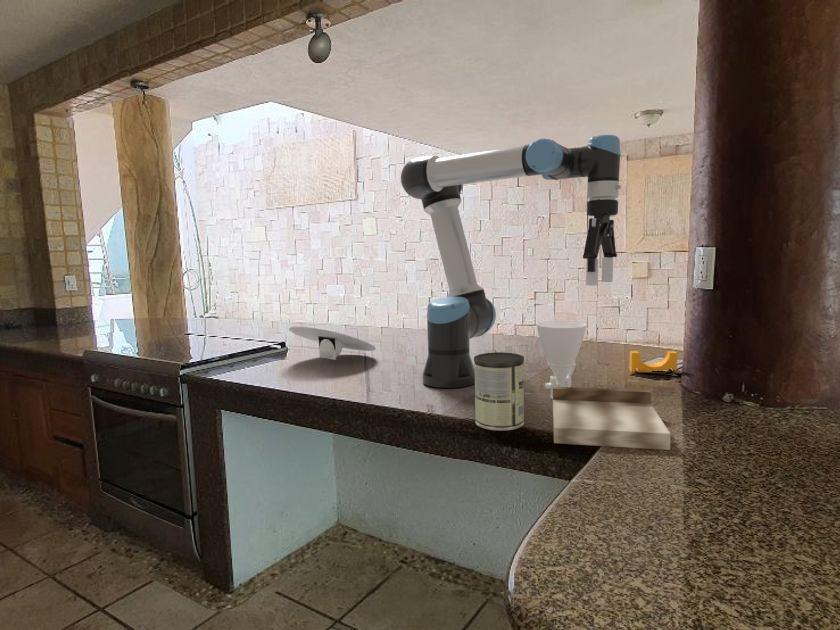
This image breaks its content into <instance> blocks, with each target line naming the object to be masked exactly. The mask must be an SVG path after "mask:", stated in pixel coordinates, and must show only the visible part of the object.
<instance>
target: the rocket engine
mask: <svg viewBox="0 0 840 630" xmlns="http://www.w3.org/2000/svg"><path fill="white" fill-rule="evenodd" d="M536 328H537V332H538V337H539V340H540V344H541V347H542V350H543V353H544V356H545V358H546V361H547V364H548V366H549V368H550V370H551V372H552V373H553V375H550V377H549V378H550V380H549V382H546V383H544V388H545V389H550V390H549V393H550V395H549V396H550V399H552V400H553V387H572V378H571V377H572V375H573V374H574V372H575V368H576V365H577V363H576V359H577V357H578V354H579V352H580V349H581V346H582V344H583V340H584V337H585V334H586V329H587V324H586V323H585V322H581V321H580V322H579V321H572V320H571V321H569V320H550V321H548V320H547V321H540V322H537V323H536Z"/></svg>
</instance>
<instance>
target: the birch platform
mask: <svg viewBox="0 0 840 630" xmlns="http://www.w3.org/2000/svg"><path fill="white" fill-rule="evenodd" d="M651 395H652V392H651V390H650V389H648V390H647V389H626V388H625V389H623V388H619V389H618V388H599V387H598V388H596V387H572V386H571V387H553V399H552V425H553V427H552V428H553V444H561V445H562V444H565V445H580V446H597V447H599V446H600V447H612V448H613V447H615V448H617V447H618V448H630V449H631V448H632V449H633V448H634V449H649V450H664V451H665V450H666V451H667V450H669V451H670V450H671V434H672V433H671V432H670V430H669V429H668V428H667V426H666V424H665V423H664V421H663V420H662V419H661V417H660V415H659V414H658V413H657V411H656V409H655V408H654V407H653V405H652V403H651V401H652V396H651Z"/></svg>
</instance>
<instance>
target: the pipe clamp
mask: <svg viewBox="0 0 840 630" xmlns="http://www.w3.org/2000/svg"><path fill="white" fill-rule="evenodd" d="M628 365H629V368H628V369H629V372H630V373H636V372H637V373H653V372H652V371H660V370H661V371H663V370H668V371H670V368H672V369H673V370H677V369H678V352H677V351H673V350H671V351H668V350H667V351H666V355H665V357H664V359H663V360H659V361H657V362H655V363H645V362H643V361H642V359H641V356H640V352H639V351H638V350H630V351H629V364H628ZM677 371H678V370H677Z"/></svg>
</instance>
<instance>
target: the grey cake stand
mask: <svg viewBox="0 0 840 630" xmlns="http://www.w3.org/2000/svg"><path fill="white" fill-rule="evenodd" d="M288 331H290V332H291V333H292V334H294V335H296V336H299V337H301V338H303V339H306V340H308V341H312V342H315V343H318V351H319V352H318V353H319V358H323V359H329V360H333V361H335V360H337V357H338V356H339V355H340V354H341V353H342V351H343V349H345V350H350V351H351V350H353V351H360V352H372V351H373V352H374V351H376V349H377V348H376V347H375V345H373V344H371V343H369V341H368V342H367V341H365V340H362V339H360V338H358V337H354V336H350V335H347V334H343V333H341V332H336V331H331V330H327V329H321V328H315V327H309V326H308V327H307V326H291V327H289V328H288Z"/></svg>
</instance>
